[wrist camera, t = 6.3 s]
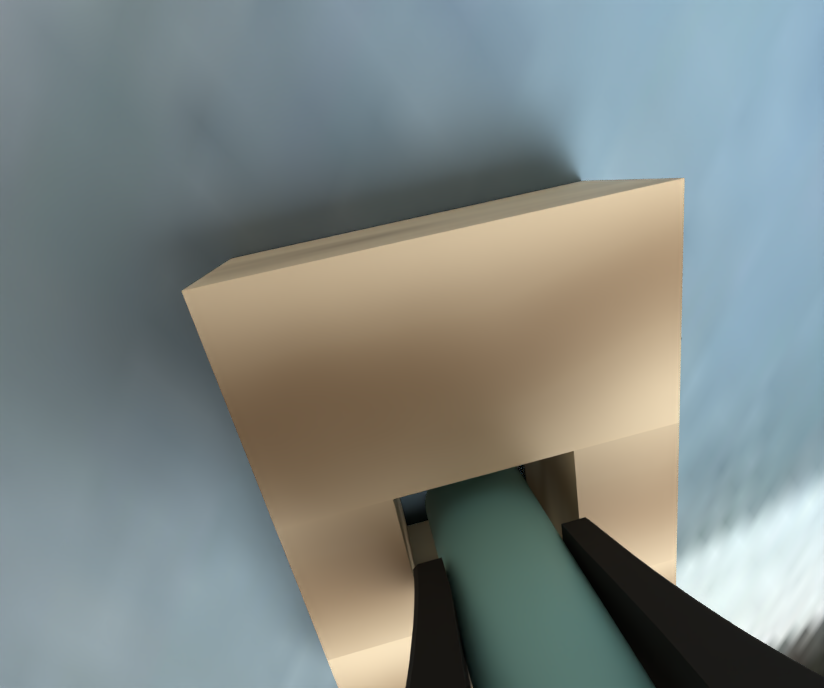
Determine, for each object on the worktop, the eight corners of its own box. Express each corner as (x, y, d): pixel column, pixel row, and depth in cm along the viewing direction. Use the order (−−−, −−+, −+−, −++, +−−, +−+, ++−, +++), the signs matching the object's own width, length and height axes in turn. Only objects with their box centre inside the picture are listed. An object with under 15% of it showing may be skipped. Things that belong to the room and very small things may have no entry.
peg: (529, 523, 14) (831, 1060, 5) (435, 549, 13) (593, 1153, 5) (518, 442, 13) (875, 951, 4) (416, 469, 12) (576, 1063, 4)
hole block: (605, 586, 18) (673, 688, 15) (368, 656, 18) (376, 782, 14) (582, 180, 13) (684, 177, 9) (231, 258, 12) (181, 291, 8)
